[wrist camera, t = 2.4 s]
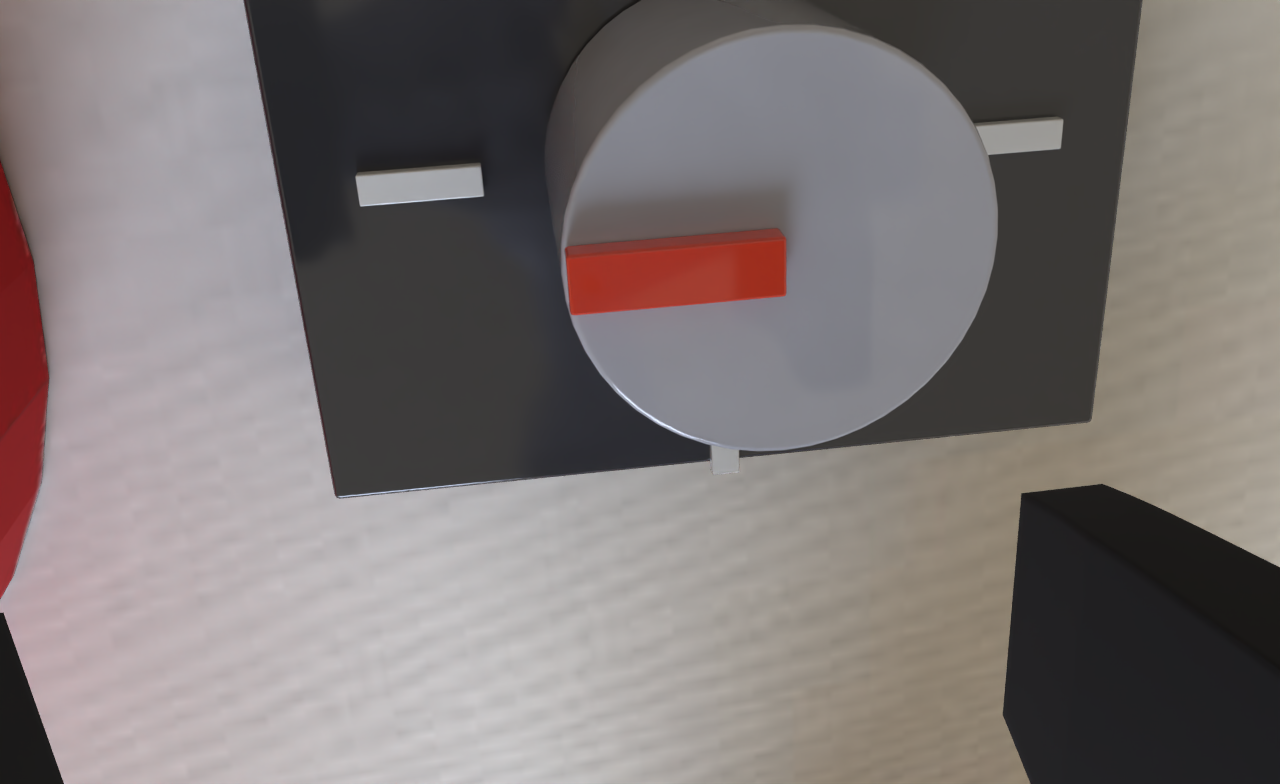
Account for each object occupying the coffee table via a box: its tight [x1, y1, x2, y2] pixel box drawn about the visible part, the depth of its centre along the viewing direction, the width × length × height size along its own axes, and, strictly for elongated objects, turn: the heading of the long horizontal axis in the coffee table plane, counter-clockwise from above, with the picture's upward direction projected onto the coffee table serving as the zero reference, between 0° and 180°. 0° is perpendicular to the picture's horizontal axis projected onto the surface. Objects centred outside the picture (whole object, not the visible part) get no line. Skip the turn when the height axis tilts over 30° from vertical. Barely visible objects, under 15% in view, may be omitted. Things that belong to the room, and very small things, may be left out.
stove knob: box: [544, 0, 998, 451], centre depth 12 cm, size 4×4×4 cm
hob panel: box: [243, 0, 1142, 498], centre depth 15 cm, size 10×8×3 cm
